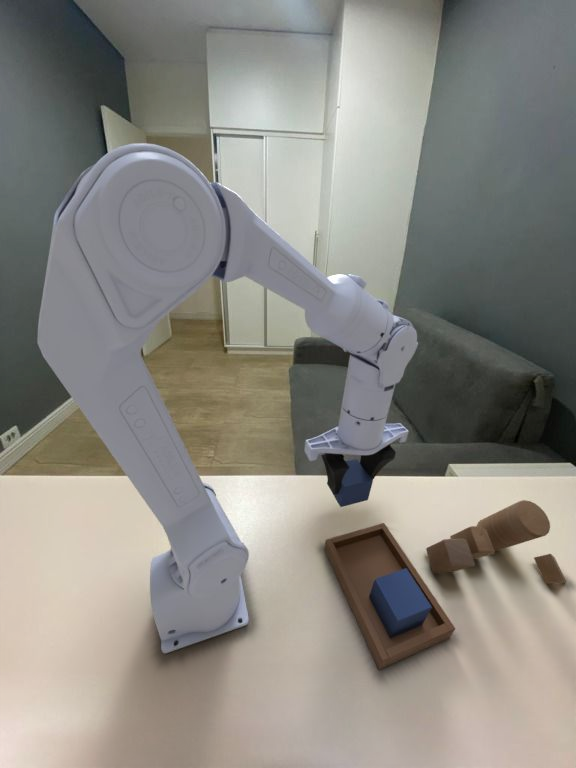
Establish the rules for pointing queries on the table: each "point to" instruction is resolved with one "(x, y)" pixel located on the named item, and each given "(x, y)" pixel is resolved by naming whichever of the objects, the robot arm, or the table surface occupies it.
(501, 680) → the table surface
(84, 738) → the table surface
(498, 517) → the wooden block set
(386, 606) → the blue cube
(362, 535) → the frame
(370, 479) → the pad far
